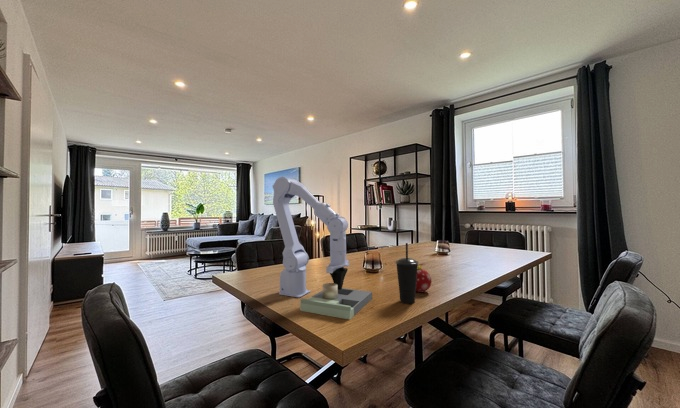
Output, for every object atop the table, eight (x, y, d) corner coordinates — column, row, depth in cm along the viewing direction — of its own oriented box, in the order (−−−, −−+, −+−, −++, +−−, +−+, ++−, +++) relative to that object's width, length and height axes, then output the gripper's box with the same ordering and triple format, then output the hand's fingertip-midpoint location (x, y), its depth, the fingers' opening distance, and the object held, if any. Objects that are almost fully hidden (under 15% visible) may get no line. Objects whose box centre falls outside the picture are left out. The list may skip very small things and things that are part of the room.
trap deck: (300, 310, 88) (300, 299, 88) (329, 292, 106) (329, 283, 106) (349, 319, 81) (349, 307, 81) (372, 298, 99) (372, 288, 99)
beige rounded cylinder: (320, 298, 93) (320, 286, 93) (327, 293, 97) (327, 282, 97) (333, 300, 90) (333, 288, 90) (340, 295, 95) (340, 284, 95)
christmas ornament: (406, 288, 111) (405, 263, 111) (427, 288, 111) (427, 263, 111) (411, 295, 102) (410, 267, 102) (434, 295, 102) (434, 267, 102)
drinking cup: (398, 296, 101) (397, 241, 101) (420, 299, 98) (419, 242, 98) (394, 303, 94) (393, 244, 94) (417, 306, 91) (416, 245, 91)
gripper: (339, 255, 91) (340, 296, 91) (356, 248, 104) (356, 285, 104) (320, 253, 94) (321, 293, 94) (339, 247, 107) (339, 283, 107)
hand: (338, 289), depth 100 cm, fingers closed
